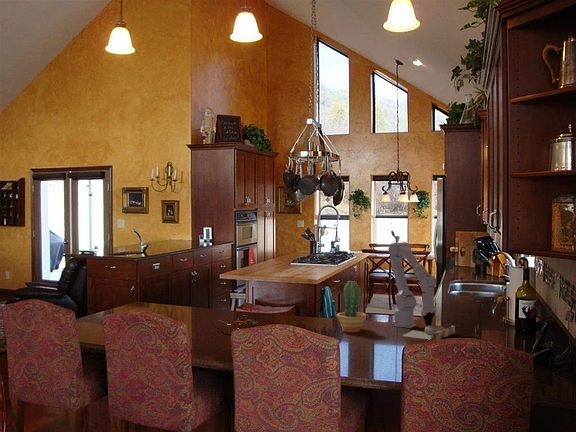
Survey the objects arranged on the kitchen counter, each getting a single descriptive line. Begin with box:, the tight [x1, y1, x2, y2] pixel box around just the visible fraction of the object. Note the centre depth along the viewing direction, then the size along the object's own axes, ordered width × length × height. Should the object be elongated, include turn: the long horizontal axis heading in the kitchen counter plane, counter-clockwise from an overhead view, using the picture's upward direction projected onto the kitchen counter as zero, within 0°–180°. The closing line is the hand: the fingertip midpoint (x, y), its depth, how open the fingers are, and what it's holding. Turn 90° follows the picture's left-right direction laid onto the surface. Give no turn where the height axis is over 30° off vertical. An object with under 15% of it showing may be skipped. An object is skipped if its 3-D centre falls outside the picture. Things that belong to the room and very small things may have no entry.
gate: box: [430, 326, 453, 341], centre depth 252 cm, size 18×1×3 cm, turn 135°
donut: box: [424, 324, 446, 335], centre depth 261 cm, size 10×4×10 cm
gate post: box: [450, 324, 456, 334], centre depth 260 cm, size 2×2×4 cm
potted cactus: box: [336, 280, 367, 333], centre depth 273 cm, size 15×15×25 cm
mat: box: [401, 330, 431, 341], centre depth 260 cm, size 14×14×1 cm
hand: (428, 327), depth 267 cm, fingers closed
